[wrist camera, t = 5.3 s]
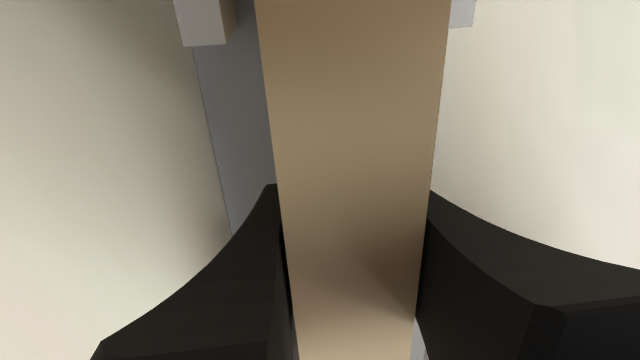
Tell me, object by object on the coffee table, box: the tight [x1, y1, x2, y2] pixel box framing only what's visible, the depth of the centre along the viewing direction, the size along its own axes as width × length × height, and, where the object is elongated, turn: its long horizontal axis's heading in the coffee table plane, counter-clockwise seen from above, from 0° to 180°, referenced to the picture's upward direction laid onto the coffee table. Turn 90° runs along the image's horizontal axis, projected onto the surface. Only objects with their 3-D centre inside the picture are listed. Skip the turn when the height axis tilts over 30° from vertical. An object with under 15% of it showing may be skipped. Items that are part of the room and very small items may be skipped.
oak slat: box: [254, 0, 452, 360], centre depth 11 cm, size 16×3×6 cm, turn 3°
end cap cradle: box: [172, 0, 476, 360], centre depth 13 cm, size 24×8×4 cm, turn 3°
